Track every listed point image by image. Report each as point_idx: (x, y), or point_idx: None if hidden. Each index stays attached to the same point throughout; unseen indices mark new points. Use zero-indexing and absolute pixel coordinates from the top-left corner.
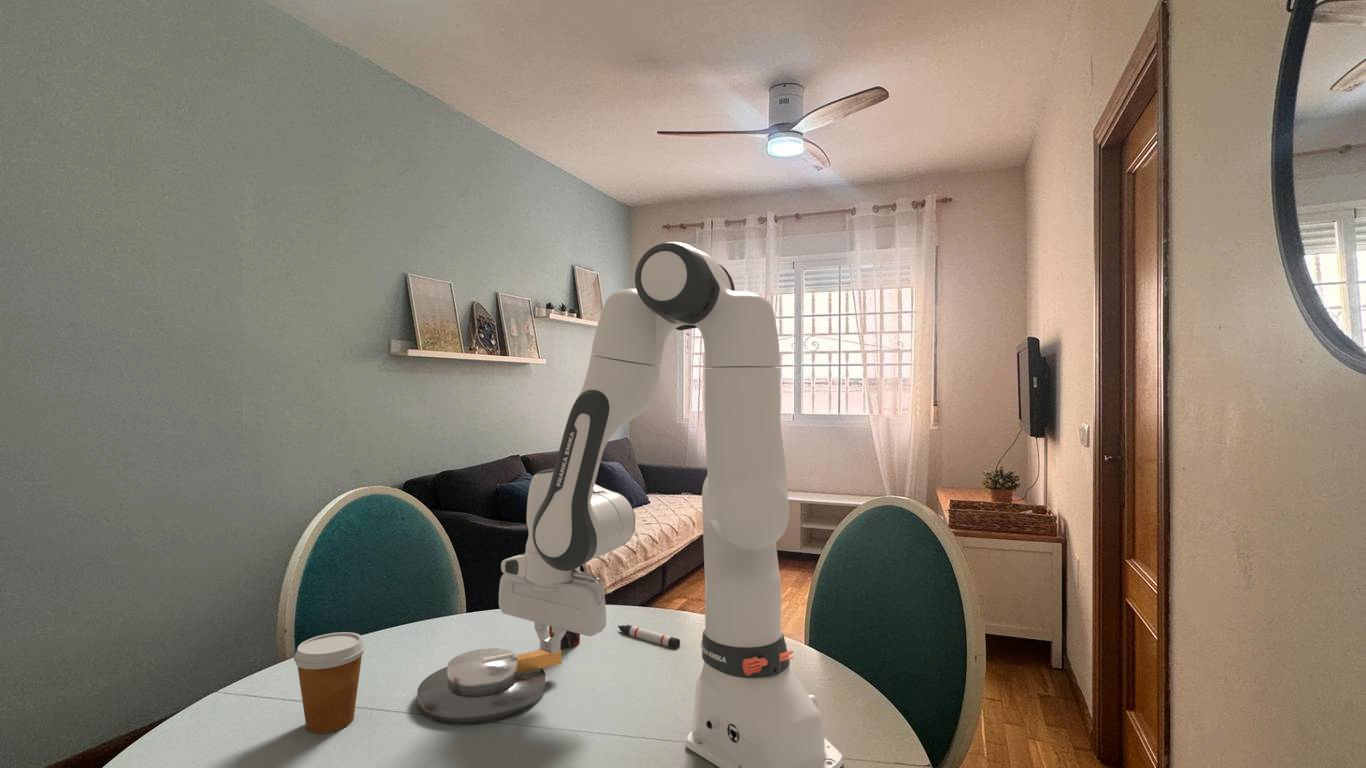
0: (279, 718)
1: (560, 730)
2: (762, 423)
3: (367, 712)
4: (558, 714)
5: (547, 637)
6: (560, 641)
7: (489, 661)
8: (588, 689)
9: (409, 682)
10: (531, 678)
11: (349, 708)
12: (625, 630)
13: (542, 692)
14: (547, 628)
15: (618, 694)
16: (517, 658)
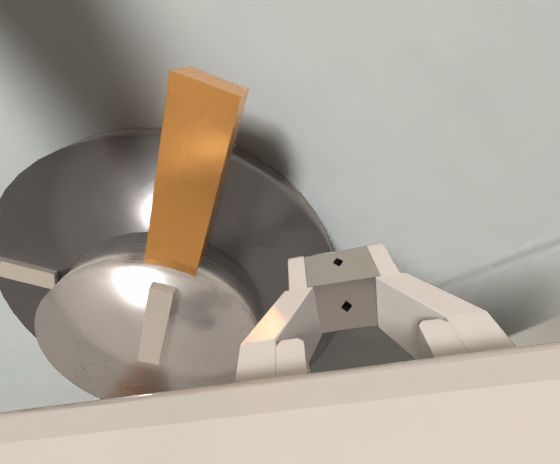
0: None
1: (476, 276)
2: None
3: None
4: (422, 238)
5: (315, 306)
6: (396, 267)
7: (163, 346)
8: (402, 71)
9: (21, 340)
10: (251, 222)
11: None
12: None
13: (313, 213)
14: (288, 325)
15: (541, 13)
16: (204, 291)
